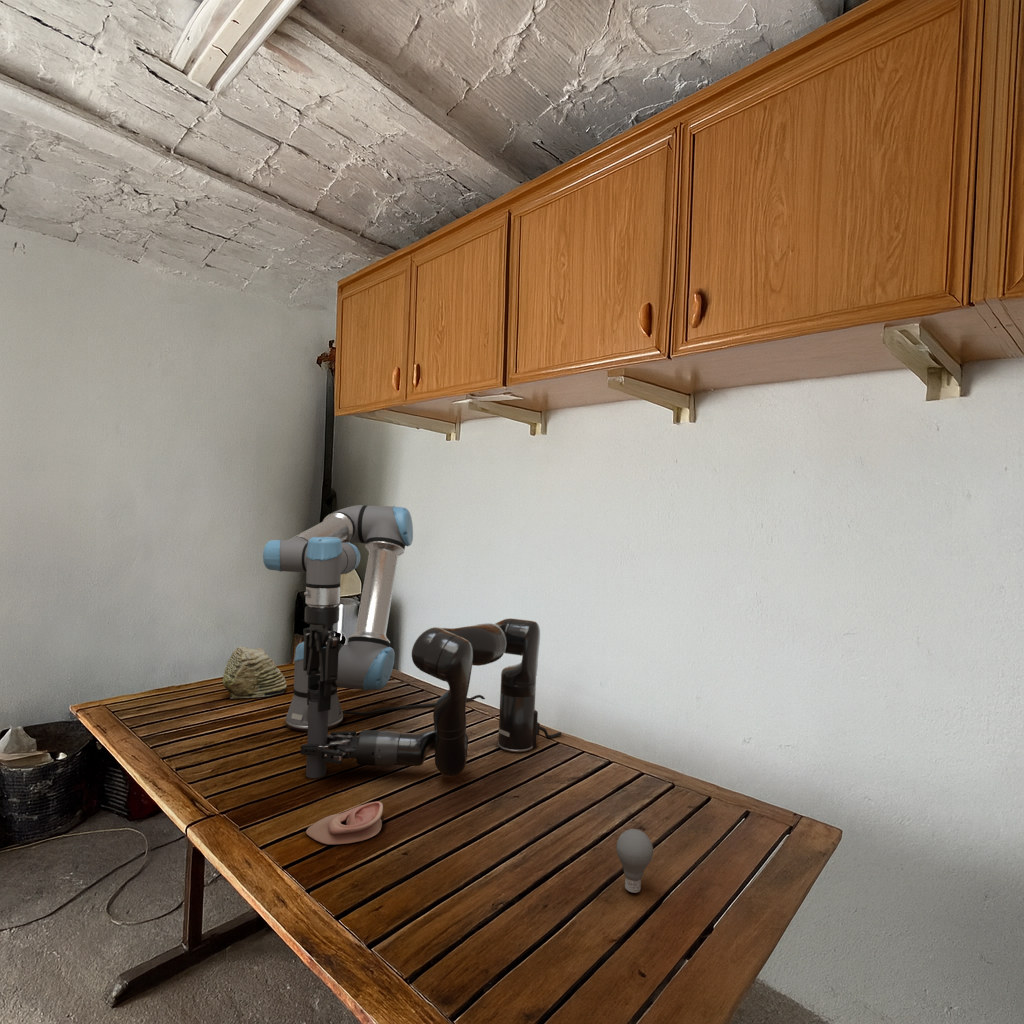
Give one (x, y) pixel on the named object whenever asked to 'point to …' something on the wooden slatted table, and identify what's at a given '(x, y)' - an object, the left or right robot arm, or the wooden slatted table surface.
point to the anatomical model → (348, 825)
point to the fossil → (252, 674)
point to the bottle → (316, 738)
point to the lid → (313, 691)
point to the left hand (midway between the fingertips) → (318, 706)
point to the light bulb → (634, 857)
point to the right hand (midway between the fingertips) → (305, 745)
